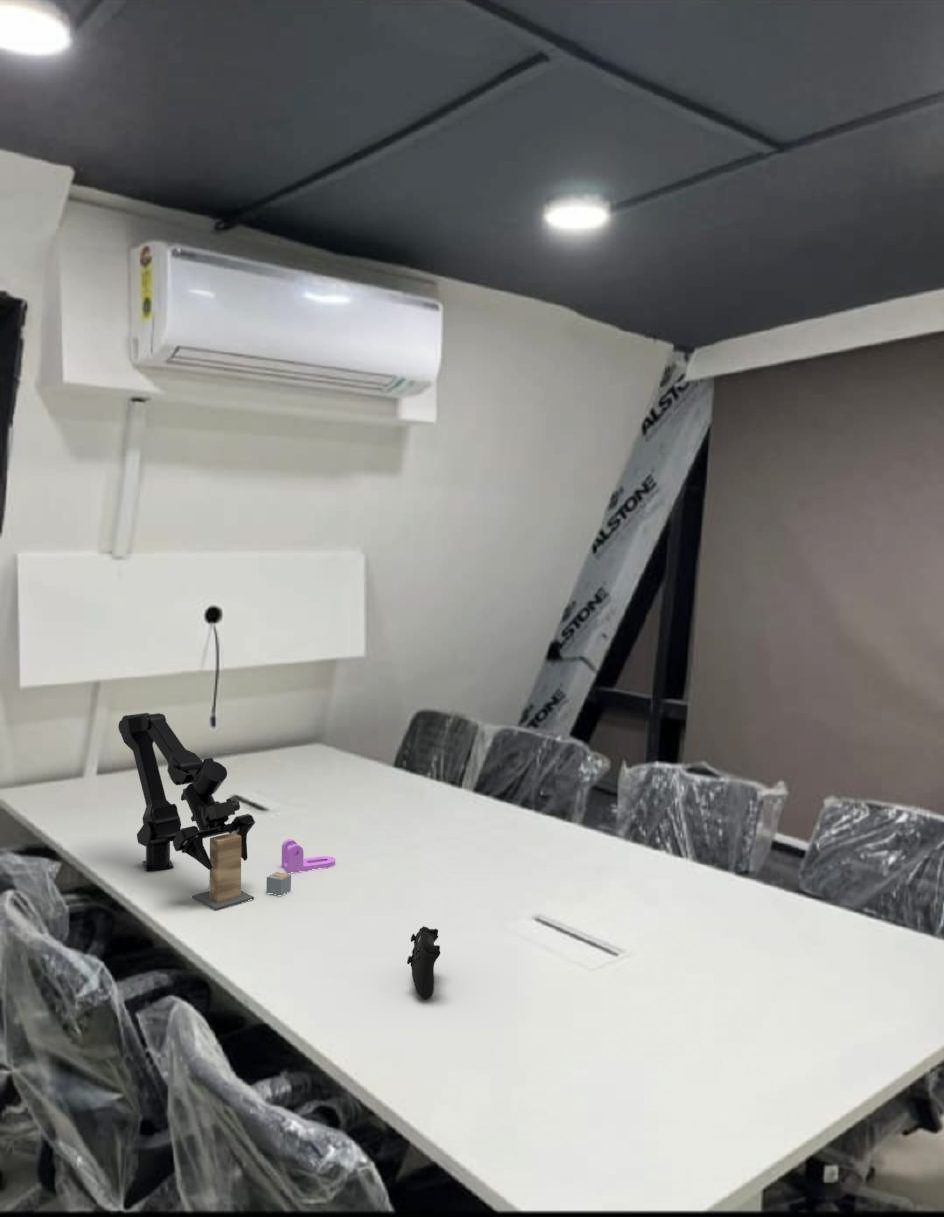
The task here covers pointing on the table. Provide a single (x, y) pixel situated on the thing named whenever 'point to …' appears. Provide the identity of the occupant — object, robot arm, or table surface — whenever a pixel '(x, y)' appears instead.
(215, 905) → the charcoal mat
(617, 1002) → the table surface
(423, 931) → the gaming controller
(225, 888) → the wooden block
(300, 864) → the bracket
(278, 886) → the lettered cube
